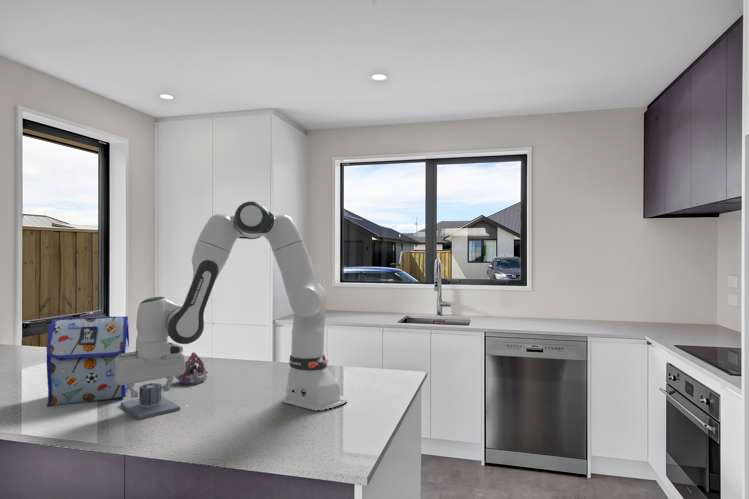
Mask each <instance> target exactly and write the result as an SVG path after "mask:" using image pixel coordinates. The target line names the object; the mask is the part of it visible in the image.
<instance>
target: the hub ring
mask: <svg viewBox="0 0 749 499" xmlns="http://www.w3.org/2000/svg"><path fill="white" fill-rule="evenodd" d="M147 386H155V387H152V388H146V387H147ZM162 390H163V384H161V383H157V382H156V383H155V382H150V383H144V384H142V385H140V386H139V391H138V397H139V398H138V399H139V403H140V404H141V405H153V404H157V403H159V402H161V396H162Z"/></svg>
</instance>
